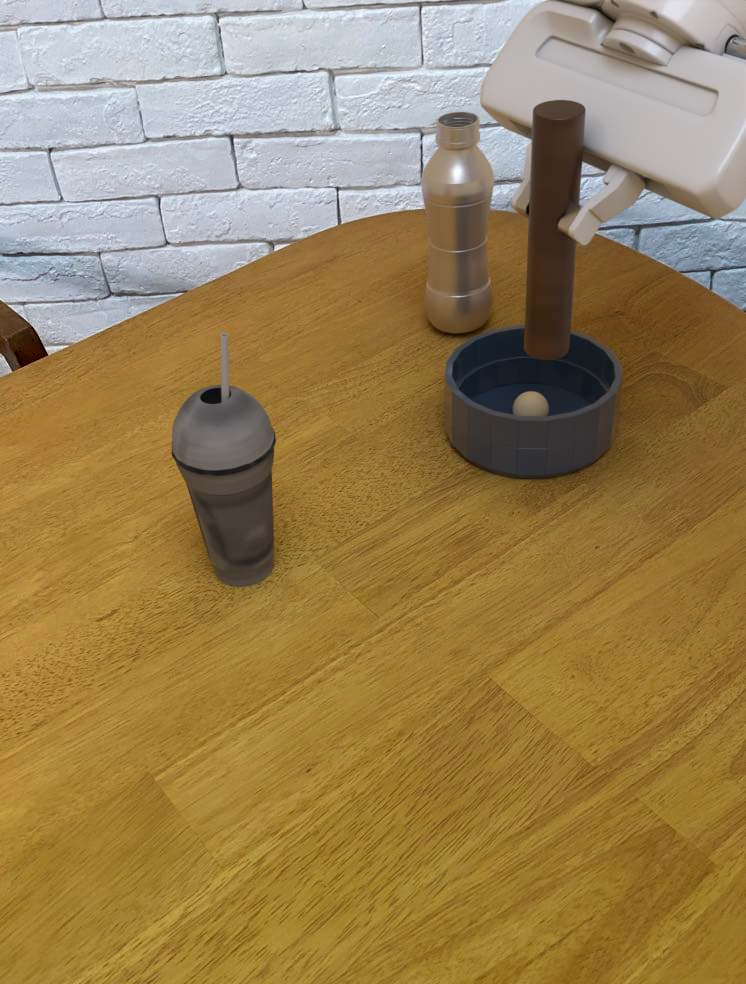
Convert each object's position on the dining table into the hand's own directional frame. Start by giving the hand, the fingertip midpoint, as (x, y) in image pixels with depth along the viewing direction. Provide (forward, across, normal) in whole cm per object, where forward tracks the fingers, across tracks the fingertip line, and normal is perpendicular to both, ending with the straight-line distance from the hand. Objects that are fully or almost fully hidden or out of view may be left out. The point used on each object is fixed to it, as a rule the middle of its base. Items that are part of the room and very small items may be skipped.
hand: (545, 225), depth 69 cm
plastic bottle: (+7, +28, -28) cm, 40 cm away
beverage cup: (+31, +10, -4) cm, 33 cm away
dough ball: (+10, +10, -22) cm, 27 cm away
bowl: (+12, +10, -24) cm, 28 cm away
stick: (+6, 0, -7) cm, 9 cm away
